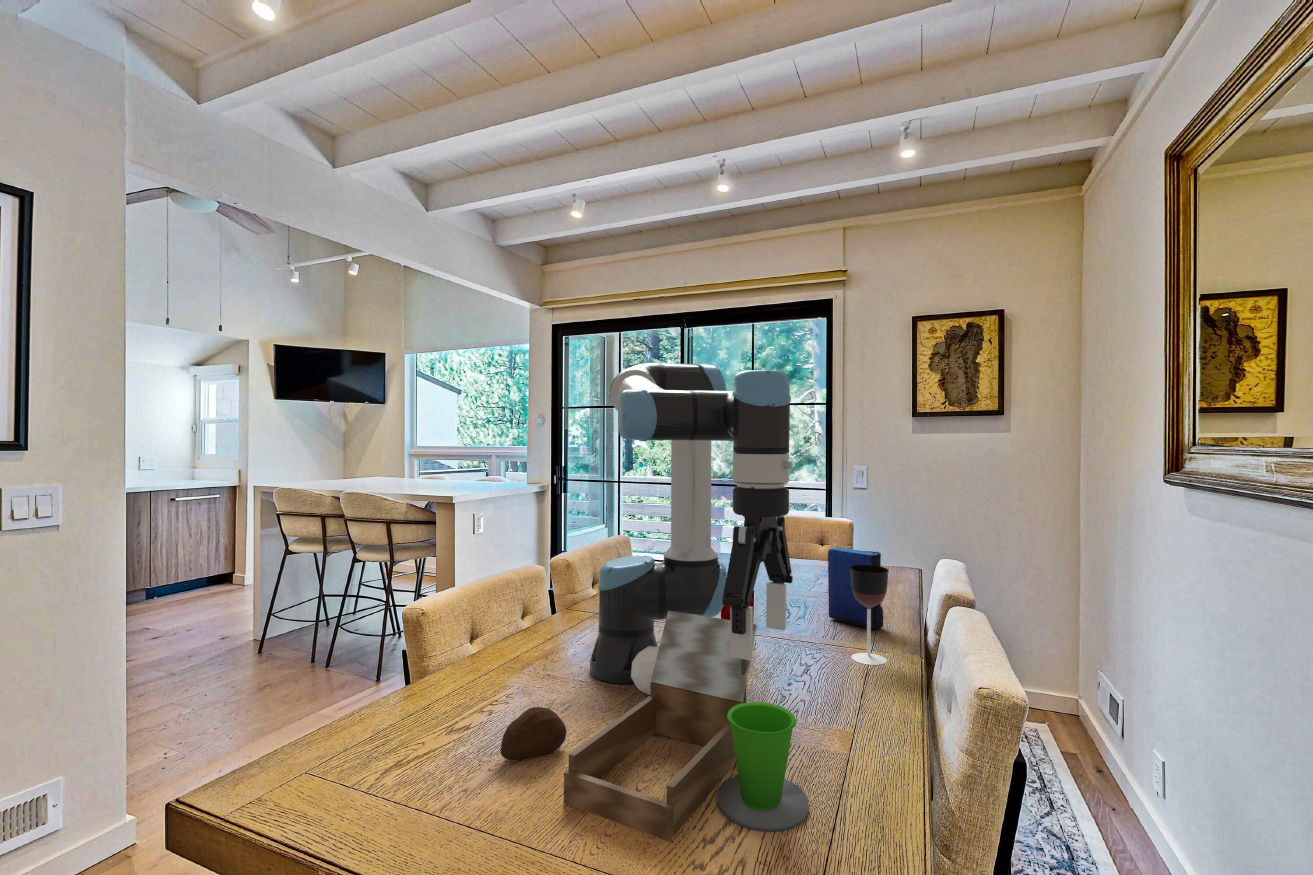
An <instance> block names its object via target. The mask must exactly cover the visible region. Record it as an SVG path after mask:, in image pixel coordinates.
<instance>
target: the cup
mask: <svg viewBox="0 0 1313 875" xmlns="http://www.w3.org/2000/svg"><path fill="white" fill-rule="evenodd" d="M727 719H728V721H729V722H730V723H731V730H732V737H733V744H734V751H735V757H736V763H735V764H736V769H737V770H736V771H737V775H738V778H739V785H740V791H741V797H742V799H743V801H744V803H745V804H746V805H747V806H749V807H750V808H753V809H756V810H761V811H768V810H772V809H775V808H776V807H778V805H779V803H780V801H781V797H782V791H783V785H784V779H786V773H787V772H786V771H787V764H788V760H789V753H790V748H791V742H792V741H791V740H792V734H793V730H794V728H795V726H796V725H797V719H796V716H795V715H794V714H793V712H792V711H791V710H789V709H787V708H785V707H783V706H780V705H778V704H774V703H770V702H761V701H759V702H758V701H749V702H746V703H742V704H739V705H736V706H734V707H732V708H731V709H730V710H729V712H728V714H727Z"/></svg>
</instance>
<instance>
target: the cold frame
mask: <svg viewBox="0 0 1313 875" xmlns="http://www.w3.org/2000/svg"><path fill="white" fill-rule="evenodd" d="M662 630H663V631H662V635H661V639H660V643H659V646H658V647H659V651H658V655H657V659H656V663H655V667H654V671H653V675H652V679H651V682H652V683H650V695H649V696H648V697H646V698H644V699H643V700H642V701H640V702H639V703H638V704H636V705H635V706H633V707H632V708H631V709H630V710H628V711H627V712H625V713H623V714H622V715H621V716H620V717H618V718H617V719H616V720H614V721H613V722H611V723H610V724H608V725H607V726H605V727H604V728H603V729H602V730H600V731H599V732H597V733H596V734H594V735H593V736H592V737H590V738H589V739H588V740H586V741H585V742H584V743H582V744H580V745H579V746H578V747H576V748H575V749H573V750H572V751H570V752H569V753H568V768H567V769H566V770H565V771H564V772H563V803H564V804H566V805H568V806H572V807H575V808H577V809H580V810H582V811H585V812H588V813H591V814H594V815H596V816H599V817H601V818H605V819H608V820H610V821H613V822H616V823H618V824H621V825H623V826H626V827H627V828H628V827H629V828H631V829H634V830H637V831H639V832H643V833H645V834H647V835H651V836H654V837H656V838H659V839H660V840H661V839H662V840H664V841H666V842H671V841H672V840H673V838H674V837H675V836H676V835H677V834H678V832H679V831H680V830H681V829H682V828H683V826H684V825H685V824H686V823H687V822H688V820H690V818H691V817H692V815H693V814H694V813H695V812H696V811H697V810H698V809H699V807H700V806H701V805H702V804H703V802H704V801H705V800H706V799H707V798H708V796H709V795H710V794H711V793H712V791H713V790H714V789H715V788H716V787H717V786H718V784H719V783H720V782H721V781H722V779H723V778H724V777H725V776H726V775H727V774H728V772H729V771H730V770H731V769H732V768H733V766H734V765H735V764H736V757H735V751H734V744H733V737H732V730H731V723H730V722H729V721H728V719H727V714H728V712H729V710H730V709H731V708H732V707H734V706H736V705H739V704H742V703H747V683H748V677H749V673H750V672H749V671H750V665H751V660H745V659H740V658H735V657H730V619H724V618H719V617H718V618H717V617H706V616H700V615H694V614H687V613H681V612H675V611H668V614H667V618H666V619H665V621H664V626H663V629H662ZM756 631H757V625H756V623H753V645H754V644H755V637H756V633H757V632H756ZM655 734H657V735H661V736H665V737H668V738H671V739H675V740H679V741H684V742H687V743H691V744H694V745H698V746H700V747H701V746H702V748H701V749H700V751H698V753H696V754H695V755H694V756H693V758H692V759H691V760H689V761H688V763H687V764H685V766H684V767H683V768H682V769H681V770H680V771H679V772H678V773H677V774H675V776H674V777H673V778H672V779H671V780H670V781H669V782H668V783H667V784H666V786H665V787H666V800H663V799H660V798H657V797H653V796H651V795H648V794H644V793H642V792H638V791H635V790H633V789H630V788H627V787H624V786H621V785H617V784H614V783H611V782H609V781H605V780H604V779H602V778H604V777H605V776H606V775H607V774H608V773H610V772H611V771H612V770H613V769H614V768H616V766H619V764H621V763H622V762H623V761H624V760H625V759H626V758H628V757H629V756H630V755H632V753H633V752H635V751H636V750H637V749H638V748H639V747H641V746H642V745H643V744H644V743H645V742H647V741H648V740H649V739H651V737H653V736H654V735H655Z"/></svg>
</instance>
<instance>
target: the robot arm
mask: <svg viewBox="0 0 1313 875" xmlns="http://www.w3.org/2000/svg"><path fill="white" fill-rule="evenodd" d="M789 378H790V377H789V375H788V374H787V373H786V372H783V371H781V370H773V369H772V370H771V369H761V370H760V369H755V370H743V371H740V372H737V373H736V374H735V375H734V377H733V386H732V390H727V389H728V388H727V385H726V384H727V383H726V380H725V376H724V374H723V373H722V371H721V369H720V368H719V367H717V366H716V365H712V364H706V363H705V364H703V363H698V362H697V363H668V362H667V363H665V362H664V363H663V362H662V363H661V362H660V363H658V362H646V363H640V364H636V365H633V366H631V367H630V366H629V367H628V368H625V369H624V370H621V372H619V373H618V374H616V376H615V377H614V378H613V380H612V381H611V384H610V387H609V398H610V402H611V404H612V405H613V407H614V409H615V410H616V411H617V412H618V413H617V414H618V417H617V419H618V432H619V435H620V437H621V439H625V440H627V441H628V440H629V441H639V442H647V441H671V444H670V445H671V455H670V456H671V457H670V461H671V462H670V463H671V464H670V468H671V469H670V472H671V473H670V478H671V479H670V482H671V483H670V484H671V485H670V515H671V516H670V547H669V548H668V549H667V550H666V551H665V552H664V553H663V562H659V563H656V561H655V559H654V557H653V556H650V555H631V556H624V557H618V558H615V559H612V560H609V561H607V562H605V563H604V564H602V566H601V567H600V570H599V574H598V575H599V576H598V585H597V590H598V635H597V637H596V640H595V643H594V648H593V650H592V653H591V657H590V661H589V672H590V674H591V676H592V677H594V678H595V679H597V680H598V681H599V680H600V681H602V682H604V683H605V682H606V683H610V684H621V685H623V684H624V685H625V684H626V685H627V684H635V683H634V681H633V680H632V678H631V669H632V661H633V660H634V659H635V657H636V656H637V654H638V653H639V652H641V651H642V650H644V649H645V648H647V647H648V646H654V647H659V646H658V642H657V639H656V637H655V636H656V635H655V631H654V630H655V628H654V627H655V621H657V620H660V621H661V620H666V618H667V614H668V611H675V612H681V613H687V614H694V615H700V616H706V617H713V618H715V617H716V616H718V615H719V613H721V611H722V609H723V607H724V606H726V607H727V606H728V607H730V608H729V615H730V616H729V620H730V657H735V658H740V659H745V660H753V648H754V644H753V624H754V618H753V617H754V616H753V614H754V613H753V611H754V610H753V608H754V607H753V606H750V604H751V600H752V597H753V594H754V589H755V585H756V581H757V579H758V575H759V574H758V573H759V570H760V566H761V563H763V564H764V567H765V570H766V572H767V577H768V579H769V581H767V582H766V605H765V606H766V607H765V608H766V609H765V610H766V614H765V616H766V618H765V619H766V620H765V621H766V622H765V628H768V629H773V630H779V631H785V630H786V629H787V584H792V583H793V581H794V580H793V579H794V578H793V575H792V572H793V571H792V566H791V560H790V553H789V548H788V540H787V537H786V536H787V535H786V534H787V533H786V519H785V518H786V517H785V516H787V515H788V514H789V513H790V489H788V487H786V486H785V485H786V484H787V483H789V482H790V469H792V468H793V466H794V464H793V462H792V461H790V428H791V426H790V419H791V417H790V416H791V401H792V397H791V389H790V379H789ZM713 441H714V442H716V441H717V442H719V441H721V442H724V441H726V442H727V441H728V442H732V443H733V445H732V446H733V449H732V450H733V453H732V481H733V483H736V486H734V487H733V489H732V512H733V514H735V515H737V516H738V515H739V516H742V517H743V519H744V521H743V526H741V525H735V526H734V527H733V528H732V529H733V530H732V543H731V544H732V546H731V549H730V550H731V551H730V557H729V561H728V567H727V568H726V565H725V564H724V563H723V562H722V561H720V560H719V554H718V553H717V552H716V550H714V549H713V547H712V442H713Z"/></svg>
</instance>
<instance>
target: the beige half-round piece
mask: <svg viewBox="0 0 1313 875" xmlns="http://www.w3.org/2000/svg"><path fill="white" fill-rule="evenodd" d="M658 651H659V646H658V647H654V646H648V647H647V648H645V649H644V650H642V651H641V652H639V653H638V654H637V656H636V657H635V659H634V660H633V661H632V669H631V678H632V680H633V681H634V683H633V684H634V685H635V687H636V688H637V689H638V690H639V691H640V692H642V693H644V694H645V695H649V696H650V683H652V682H651V679H652V675H653V671H654V667H655V663H656V659H657V655H658Z"/></svg>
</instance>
